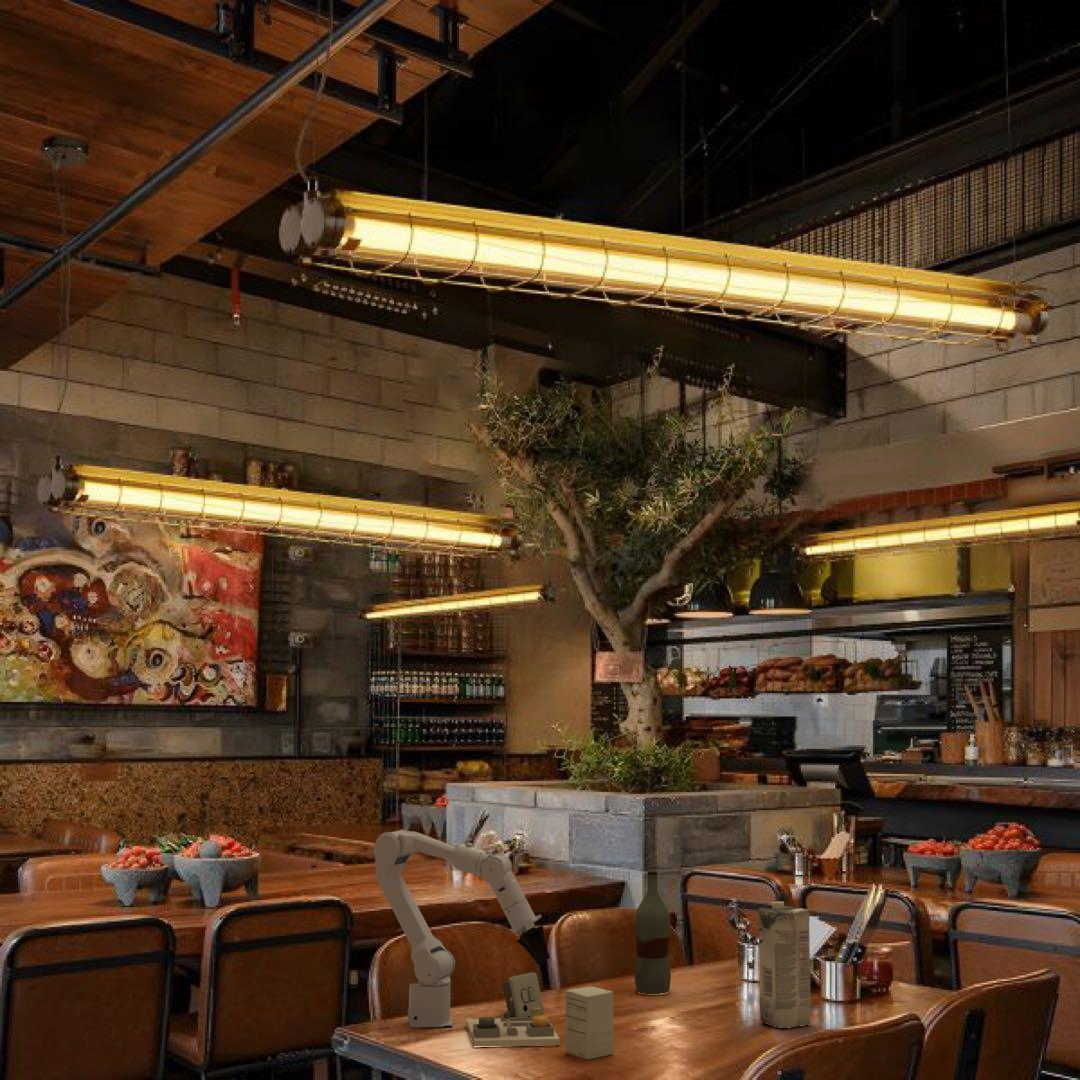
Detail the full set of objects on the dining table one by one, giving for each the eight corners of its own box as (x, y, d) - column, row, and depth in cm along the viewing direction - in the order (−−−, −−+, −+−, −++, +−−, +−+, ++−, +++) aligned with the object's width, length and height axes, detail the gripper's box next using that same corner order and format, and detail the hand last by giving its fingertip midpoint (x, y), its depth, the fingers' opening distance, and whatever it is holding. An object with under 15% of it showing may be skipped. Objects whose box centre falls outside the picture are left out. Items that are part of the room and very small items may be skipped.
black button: (479, 1028, 284) (479, 1020, 284) (477, 1024, 288) (478, 1017, 288) (495, 1028, 285) (495, 1020, 285) (493, 1024, 288) (493, 1016, 288)
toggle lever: (507, 1034, 286) (503, 1013, 286) (506, 1032, 287) (502, 1011, 288) (514, 1032, 286) (510, 1011, 287) (513, 1030, 288) (509, 1009, 288)
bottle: (629, 989, 342) (629, 868, 346) (663, 988, 344) (663, 868, 348) (641, 997, 333) (641, 873, 337) (676, 995, 335) (675, 872, 339)
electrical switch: (519, 1020, 307) (516, 977, 308) (501, 1019, 310) (499, 977, 312) (544, 1013, 314) (542, 972, 316) (527, 1012, 317) (525, 971, 319)
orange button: (533, 1027, 286) (533, 1019, 286) (531, 1023, 289) (531, 1015, 289) (549, 1026, 286) (549, 1019, 287) (546, 1023, 290) (546, 1015, 290)
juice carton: (816, 1026, 303) (814, 903, 307) (780, 1031, 298) (779, 906, 301) (790, 1018, 311) (788, 898, 314) (754, 1023, 305) (753, 901, 309)
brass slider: (532, 1023, 296) (532, 1009, 296) (530, 1020, 299) (530, 1006, 299) (541, 1022, 296) (541, 1009, 297) (539, 1019, 299) (539, 1006, 300)
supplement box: (591, 1047, 282) (591, 985, 284) (614, 1054, 276) (614, 991, 278) (563, 1053, 277) (564, 989, 279) (587, 1060, 272) (587, 995, 273)
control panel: (474, 1048, 280) (474, 1032, 281) (466, 1026, 300) (466, 1011, 300) (559, 1046, 283) (559, 1030, 283) (545, 1024, 303) (545, 1009, 303)
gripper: (533, 892, 294) (563, 950, 290) (528, 900, 307) (556, 954, 303) (505, 908, 292) (534, 966, 288) (500, 915, 305) (528, 970, 302)
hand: (543, 961), depth 296 cm, fingers open, 7 cm apart
